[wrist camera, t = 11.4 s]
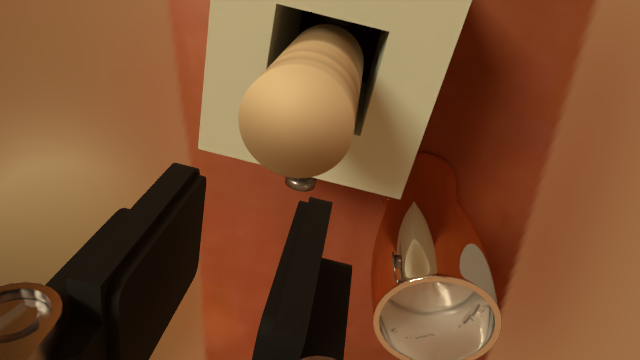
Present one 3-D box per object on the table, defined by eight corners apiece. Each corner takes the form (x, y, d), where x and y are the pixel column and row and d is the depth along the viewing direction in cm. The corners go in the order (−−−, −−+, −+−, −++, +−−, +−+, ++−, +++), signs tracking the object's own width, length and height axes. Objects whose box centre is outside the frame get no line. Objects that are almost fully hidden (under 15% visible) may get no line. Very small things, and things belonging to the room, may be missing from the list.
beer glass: (476, 160, 35) (531, 296, 22) (442, 230, 38) (472, 384, 25) (390, 135, 35) (393, 257, 22) (364, 208, 38) (353, 350, 25)
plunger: (303, 81, 27) (297, 93, 25) (341, 90, 27) (338, 103, 25) (285, 170, 31) (278, 187, 28) (320, 178, 31) (315, 196, 28)
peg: (296, 15, 24) (246, 54, 15) (372, 34, 24) (367, 84, 15) (282, 90, 26) (232, 162, 17) (353, 107, 26) (338, 189, 17)
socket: (268, -82, 29) (218, -89, 20) (451, -37, 28) (480, -24, 20) (245, 94, 34) (198, 148, 26) (396, 132, 34) (400, 199, 26)
